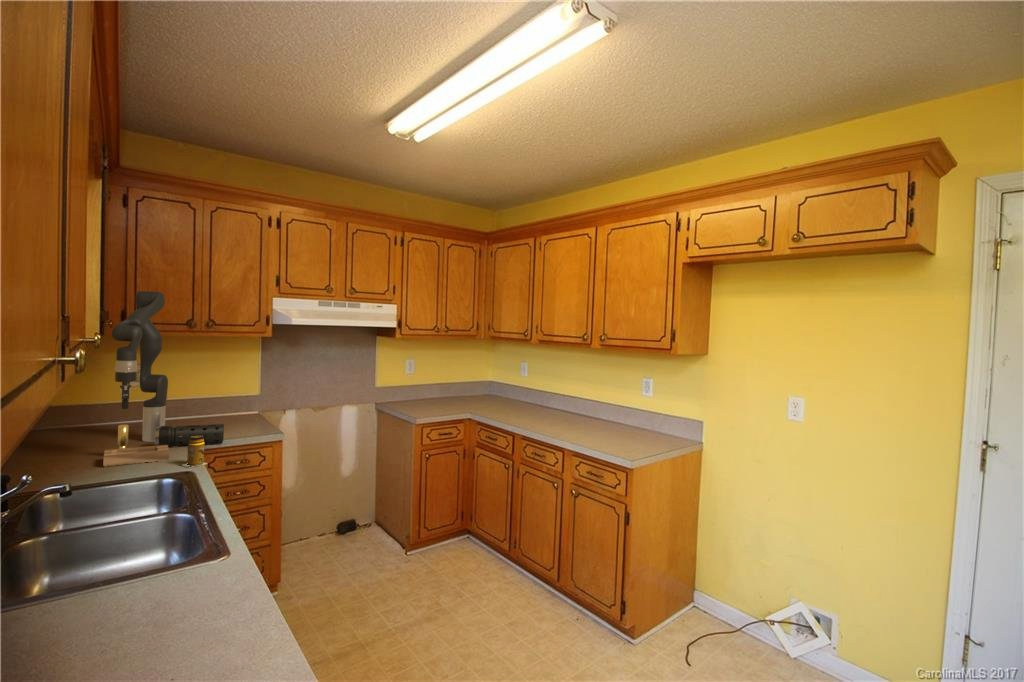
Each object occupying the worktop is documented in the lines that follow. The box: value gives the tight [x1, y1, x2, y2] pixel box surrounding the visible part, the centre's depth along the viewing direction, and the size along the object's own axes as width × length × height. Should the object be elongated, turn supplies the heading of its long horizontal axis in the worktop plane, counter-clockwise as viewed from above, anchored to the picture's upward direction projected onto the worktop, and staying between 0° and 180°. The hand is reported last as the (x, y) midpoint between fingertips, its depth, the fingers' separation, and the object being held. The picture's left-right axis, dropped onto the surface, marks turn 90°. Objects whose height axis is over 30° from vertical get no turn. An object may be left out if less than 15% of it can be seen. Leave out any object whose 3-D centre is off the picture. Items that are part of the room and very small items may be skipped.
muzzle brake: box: [154, 423, 225, 448], centre depth 241 cm, size 10×28×10 cm, turn 120°
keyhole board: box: [102, 445, 170, 467], centre depth 212 cm, size 12×22×4 cm, turn 128°
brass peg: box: [117, 424, 130, 449], centre depth 216 cm, size 5×5×14 cm
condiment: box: [186, 435, 208, 468], centre depth 210 cm, size 7×8×12 cm
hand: (125, 407), depth 216 cm, fingers open, 8 cm apart
